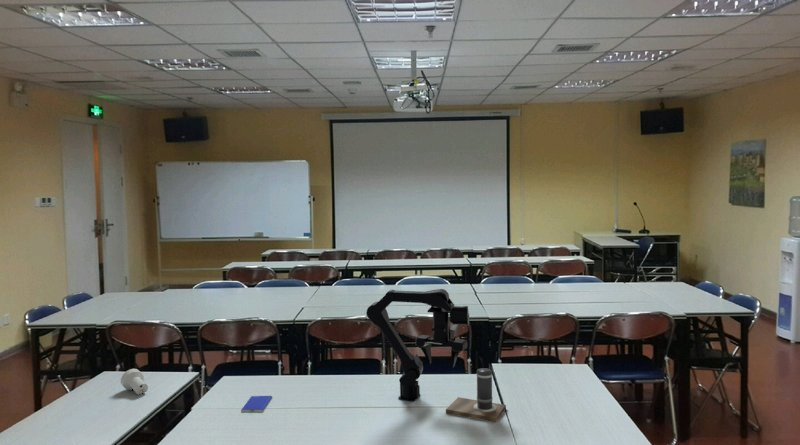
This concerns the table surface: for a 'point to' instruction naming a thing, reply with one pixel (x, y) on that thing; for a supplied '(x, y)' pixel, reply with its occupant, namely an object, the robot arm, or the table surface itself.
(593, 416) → the table surface
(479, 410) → the mount board
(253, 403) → the blue book
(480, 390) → the dark grey cylinder
